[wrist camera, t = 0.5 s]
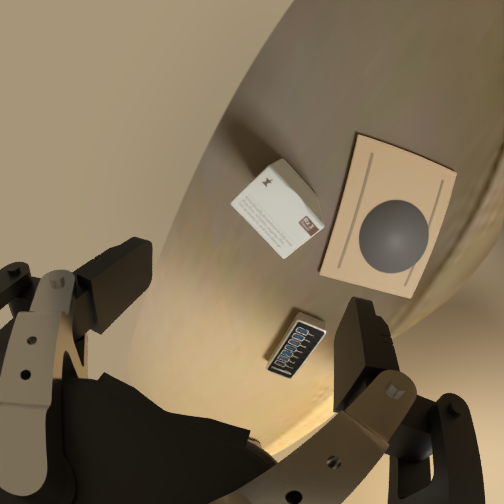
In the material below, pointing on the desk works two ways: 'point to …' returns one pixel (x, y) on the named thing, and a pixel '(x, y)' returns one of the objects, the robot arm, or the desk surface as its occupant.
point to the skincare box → (280, 208)
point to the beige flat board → (387, 218)
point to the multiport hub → (296, 345)
